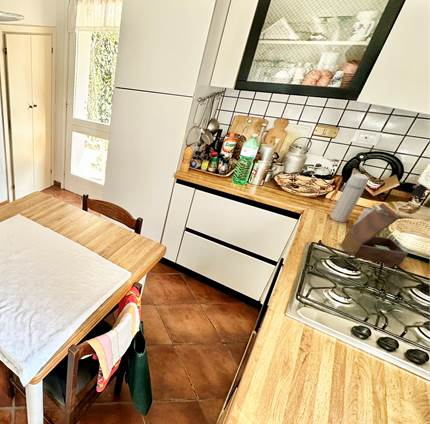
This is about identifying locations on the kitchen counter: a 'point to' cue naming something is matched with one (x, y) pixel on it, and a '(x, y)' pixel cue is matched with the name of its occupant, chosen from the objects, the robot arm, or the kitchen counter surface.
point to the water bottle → (348, 197)
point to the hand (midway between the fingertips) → (424, 200)
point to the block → (381, 247)
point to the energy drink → (364, 213)
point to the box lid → (373, 223)
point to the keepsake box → (375, 250)
